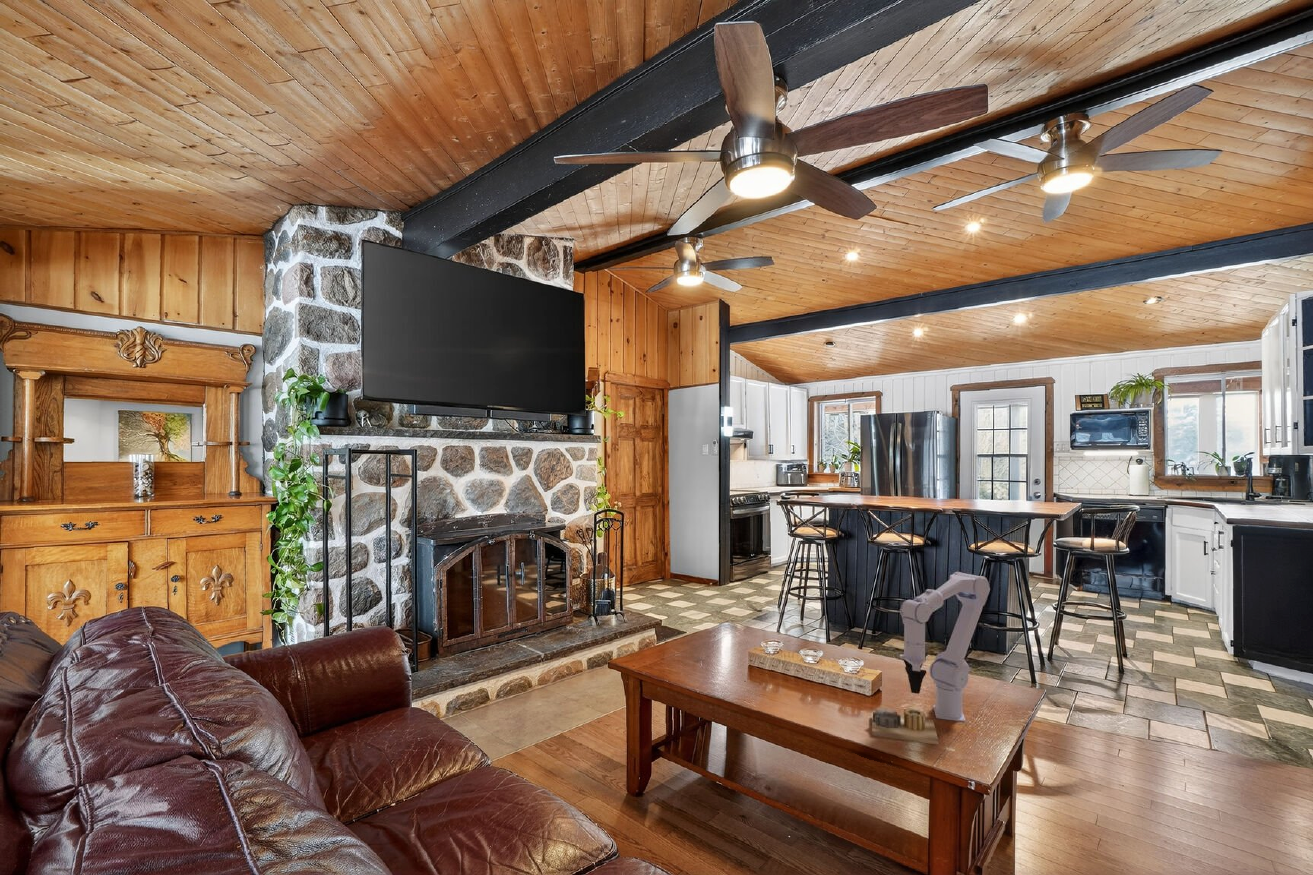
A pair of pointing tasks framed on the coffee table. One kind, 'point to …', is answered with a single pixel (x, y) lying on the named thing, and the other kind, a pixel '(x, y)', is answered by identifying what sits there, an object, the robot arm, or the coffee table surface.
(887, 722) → the gear board
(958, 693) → the robot arm
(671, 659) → the coffee table surface
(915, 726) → the brass gear
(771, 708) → the coffee table surface
